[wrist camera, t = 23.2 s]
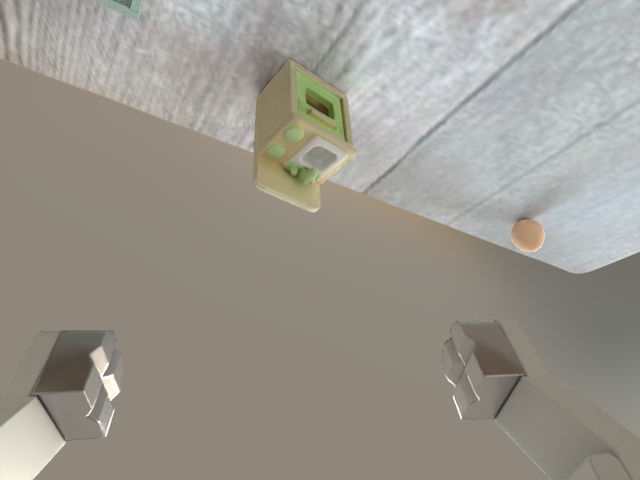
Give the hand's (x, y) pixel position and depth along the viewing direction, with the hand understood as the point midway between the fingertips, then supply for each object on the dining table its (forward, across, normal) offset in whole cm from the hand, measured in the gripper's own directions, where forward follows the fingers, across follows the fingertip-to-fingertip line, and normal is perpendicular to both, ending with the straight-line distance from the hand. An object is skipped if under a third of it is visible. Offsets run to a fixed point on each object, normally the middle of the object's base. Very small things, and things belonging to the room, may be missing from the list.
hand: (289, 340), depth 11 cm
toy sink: (+43, -3, +10) cm, 44 cm away
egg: (+50, -42, +33) cm, 73 cm away
